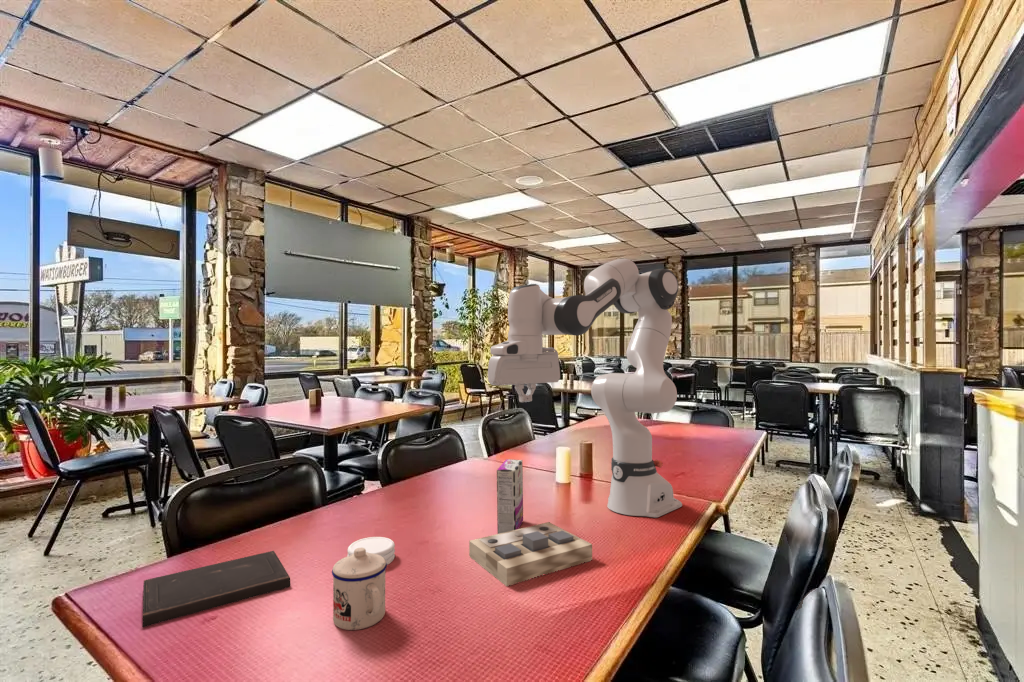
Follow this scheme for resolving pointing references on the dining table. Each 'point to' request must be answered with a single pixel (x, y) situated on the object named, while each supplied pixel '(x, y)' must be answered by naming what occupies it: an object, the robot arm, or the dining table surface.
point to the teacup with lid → (359, 590)
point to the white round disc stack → (375, 547)
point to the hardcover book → (211, 587)
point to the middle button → (535, 541)
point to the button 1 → (507, 551)
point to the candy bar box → (509, 495)
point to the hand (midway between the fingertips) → (525, 401)
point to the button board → (528, 554)
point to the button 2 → (560, 537)
